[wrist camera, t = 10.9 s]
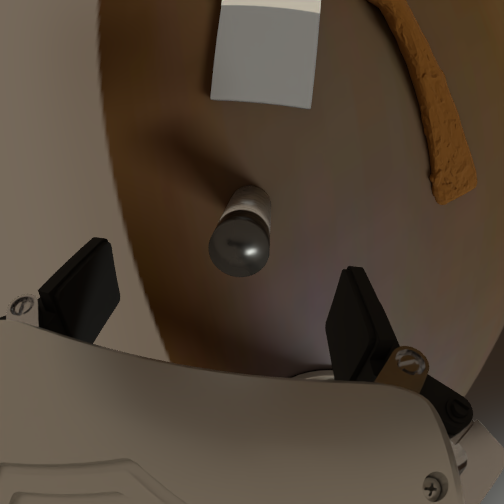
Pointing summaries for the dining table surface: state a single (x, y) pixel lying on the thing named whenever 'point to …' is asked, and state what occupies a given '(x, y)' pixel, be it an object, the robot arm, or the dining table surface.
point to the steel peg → (243, 233)
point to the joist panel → (266, 52)
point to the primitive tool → (432, 106)
